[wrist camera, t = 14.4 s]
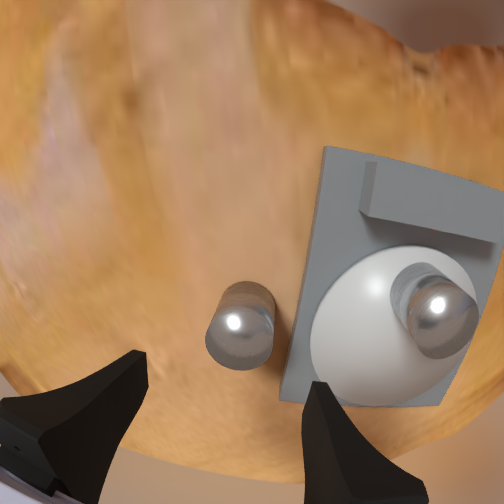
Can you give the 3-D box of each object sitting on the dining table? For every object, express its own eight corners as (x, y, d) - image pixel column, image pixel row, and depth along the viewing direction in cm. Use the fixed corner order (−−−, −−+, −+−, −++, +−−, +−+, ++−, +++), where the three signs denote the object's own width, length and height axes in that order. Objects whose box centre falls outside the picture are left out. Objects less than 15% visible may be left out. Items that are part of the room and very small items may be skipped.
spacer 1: (283, 292, 22) (283, 327, 18) (263, 337, 23) (259, 378, 19) (229, 273, 22) (215, 304, 17) (213, 319, 23) (198, 357, 19)
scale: (501, 192, 18) (533, 201, 15) (433, 394, 24) (447, 422, 20) (323, 146, 19) (333, 143, 15) (279, 387, 25) (277, 421, 21)
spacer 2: (446, 261, 18) (486, 291, 13) (436, 316, 19) (467, 355, 14) (393, 262, 18) (425, 294, 13) (385, 319, 19) (409, 362, 15)
